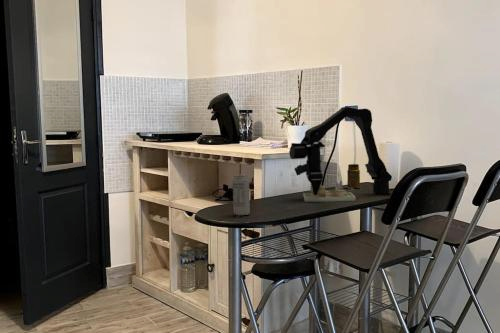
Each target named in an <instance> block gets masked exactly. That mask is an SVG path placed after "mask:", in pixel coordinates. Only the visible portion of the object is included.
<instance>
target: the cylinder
mask: <svg viewBox="0 0 500 333" xmlns="http://www.w3.org/2000/svg"><path fill="white" fill-rule="evenodd" d="M334 185H335V186H334V187H335V190H343V181H342V180H336V181H335V184H334Z"/></svg>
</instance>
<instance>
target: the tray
mask: <svg viewBox="0 0 500 333" xmlns="http://www.w3.org/2000/svg"><path fill="white" fill-rule="evenodd" d="M346 192H347V197H313V198H311V192H307V193H306V192H303V197H304V198H303V201H304V203H323V202H324V203H325V202H326V203H327V202H356V196H355V195H354V194H353V193H352V192H351V191H349V192H348V191H346Z"/></svg>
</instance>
